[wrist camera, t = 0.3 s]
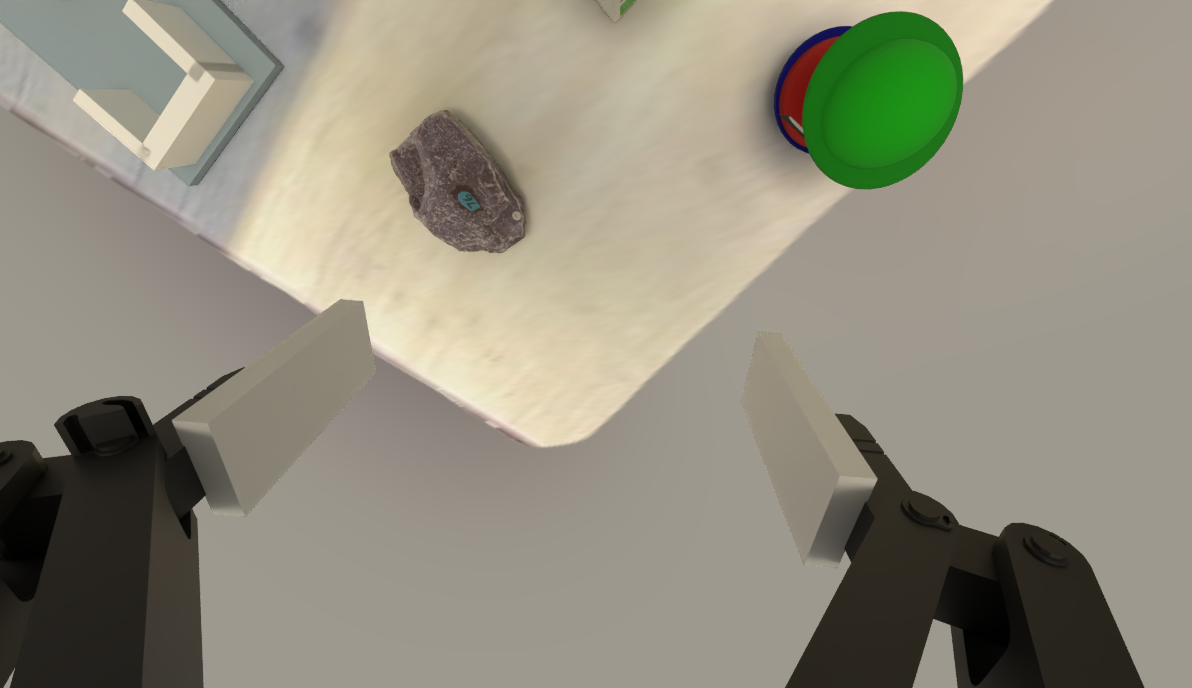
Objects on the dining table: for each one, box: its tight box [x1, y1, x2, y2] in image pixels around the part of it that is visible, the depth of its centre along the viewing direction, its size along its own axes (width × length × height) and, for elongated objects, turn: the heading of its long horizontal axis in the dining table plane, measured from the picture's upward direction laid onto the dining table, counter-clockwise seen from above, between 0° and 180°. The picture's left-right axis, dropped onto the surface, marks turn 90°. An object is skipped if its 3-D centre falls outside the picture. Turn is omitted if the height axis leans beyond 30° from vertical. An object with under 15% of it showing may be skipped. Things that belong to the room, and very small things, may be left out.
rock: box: [390, 110, 526, 253], centre depth 39 cm, size 8×11×4 cm
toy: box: [774, 11, 963, 189], centre depth 30 cm, size 9×9×15 cm
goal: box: [73, 0, 254, 170], centre depth 36 cm, size 6×10×4 cm, turn 130°
